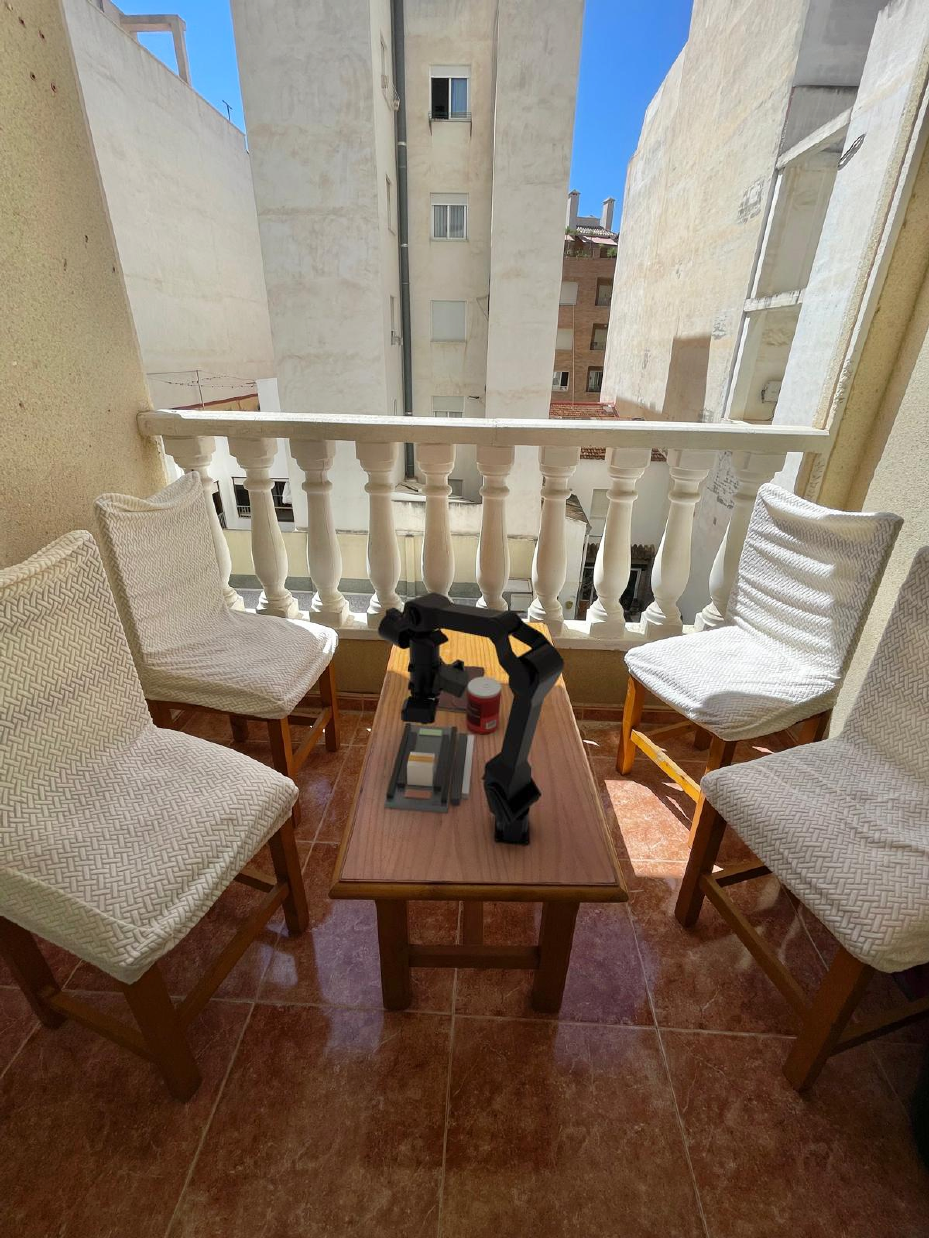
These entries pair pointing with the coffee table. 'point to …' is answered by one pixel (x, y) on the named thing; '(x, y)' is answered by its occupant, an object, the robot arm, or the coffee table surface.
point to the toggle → (420, 769)
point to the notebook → (453, 703)
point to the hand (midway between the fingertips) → (424, 723)
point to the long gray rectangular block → (462, 769)
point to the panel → (444, 748)
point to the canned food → (483, 705)
